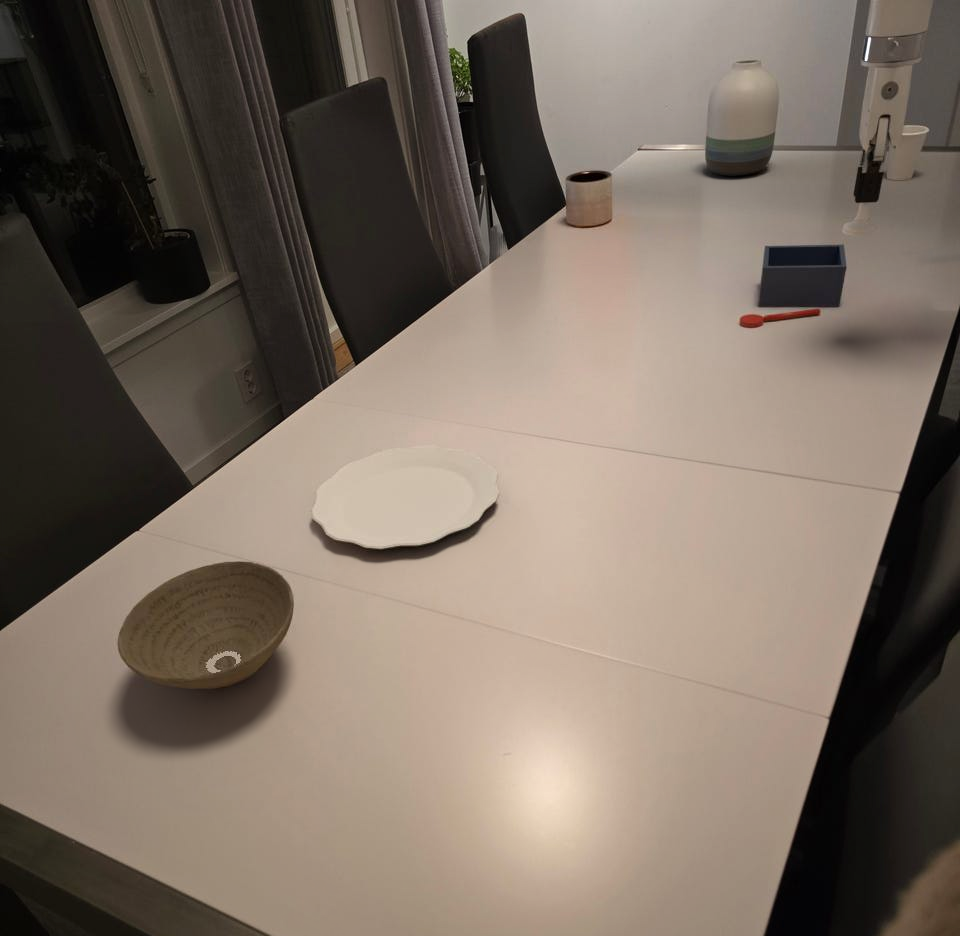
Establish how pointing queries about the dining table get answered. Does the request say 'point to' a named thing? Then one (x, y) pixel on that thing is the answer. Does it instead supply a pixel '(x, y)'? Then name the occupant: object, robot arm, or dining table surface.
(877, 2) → the robot arm
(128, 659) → the bowl
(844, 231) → the chess piece
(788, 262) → the bin
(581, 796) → the dining table surface
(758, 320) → the red spoon
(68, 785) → the dining table surface
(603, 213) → the planter
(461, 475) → the plate
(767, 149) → the vase
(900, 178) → the dixie cup
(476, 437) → the dining table surface
